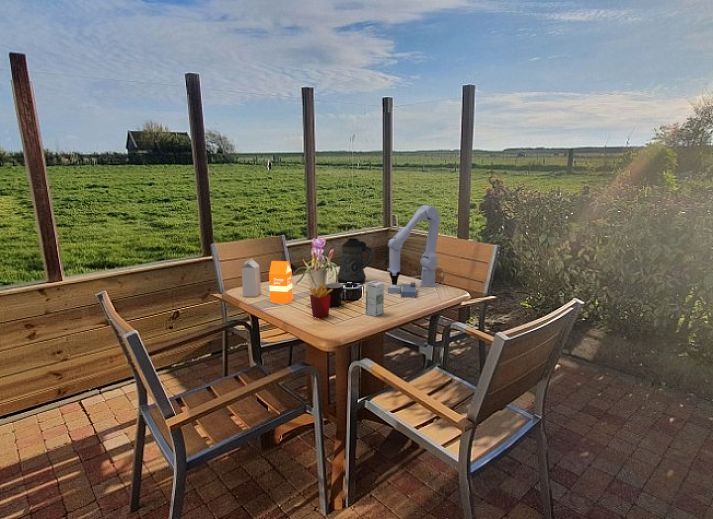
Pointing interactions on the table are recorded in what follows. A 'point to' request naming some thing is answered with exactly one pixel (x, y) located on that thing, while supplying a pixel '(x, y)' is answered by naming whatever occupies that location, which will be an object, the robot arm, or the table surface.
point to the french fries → (320, 301)
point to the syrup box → (374, 298)
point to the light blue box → (393, 288)
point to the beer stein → (353, 261)
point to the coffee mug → (335, 294)
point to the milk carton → (251, 279)
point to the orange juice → (280, 282)
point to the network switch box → (408, 290)
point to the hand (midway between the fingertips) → (394, 285)
